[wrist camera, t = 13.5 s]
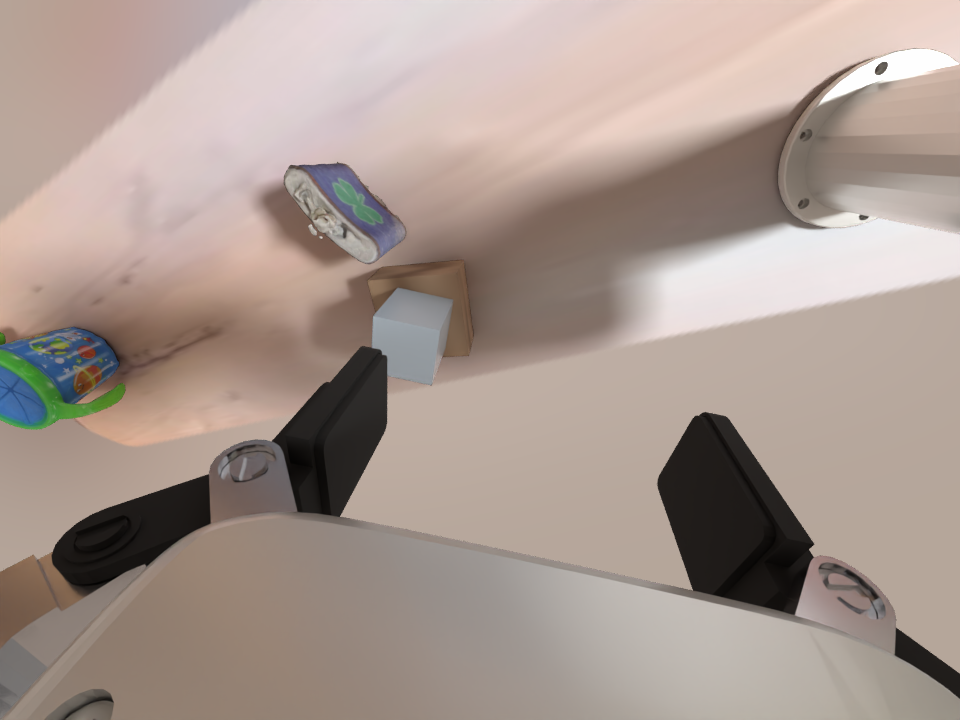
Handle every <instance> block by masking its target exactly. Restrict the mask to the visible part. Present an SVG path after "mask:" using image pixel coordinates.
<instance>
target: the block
mask: <svg viewBox="0 0 960 720" xmlns="http://www.w3.org/2000/svg"><path fill="white" fill-rule="evenodd" d="M367 283H368V286H369V290H370V294H371V297H372V301H373V305H374V308H375V312H377V311H378V310H379V309H380V308H381V306H382V305H383V304H384V303H385V302H386V301H387V299H388V298H389V297H390V296H391V295H392V294H393V293H394V291H395V290H396V289H397V288H402V289H407V290H411V291H416V292H420V293H425V294H429V295H434V296H439V297H443V298H448V299H452V300H453V306H452V312H451V318H450V324H449V330H448V336H447V342H446V348H445V351H444V354H443V356H442V357H453V356H469V353H470V349H471V345H472V341H473V337H474V334H473V327H472V319H471V312H470V304H469V297H468V289H467V282H466V274H465V267H464V260H455V261H444V262H432V263H421V264H410V265H399V266H387V267H382V268H381V269H380V270H378V271H377V272H376V273H375V274H374V275H373V276H372V277H371V278H369V279H368V280H367Z"/></svg>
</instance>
